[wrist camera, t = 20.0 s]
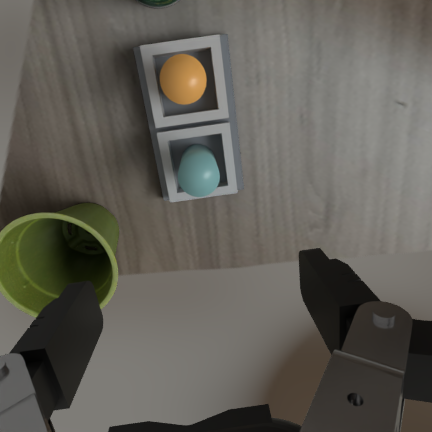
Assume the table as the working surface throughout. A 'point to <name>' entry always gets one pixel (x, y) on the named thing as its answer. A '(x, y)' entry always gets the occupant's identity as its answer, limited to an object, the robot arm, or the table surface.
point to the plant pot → (58, 255)
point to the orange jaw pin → (183, 79)
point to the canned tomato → (157, 3)
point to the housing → (192, 113)
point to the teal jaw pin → (198, 171)
